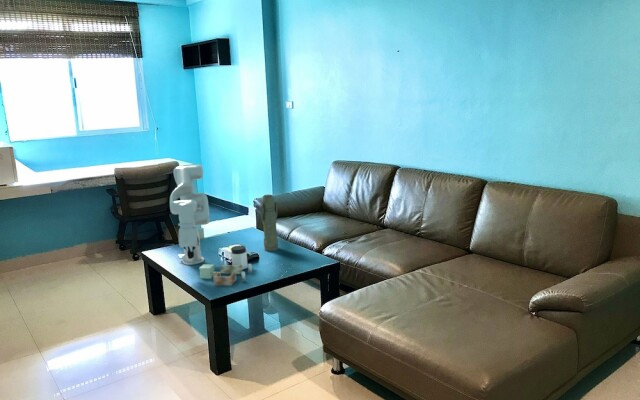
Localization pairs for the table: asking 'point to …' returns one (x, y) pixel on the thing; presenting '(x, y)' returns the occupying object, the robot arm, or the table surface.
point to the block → (207, 271)
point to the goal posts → (248, 271)
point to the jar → (239, 256)
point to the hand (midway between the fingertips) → (191, 257)
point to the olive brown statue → (269, 222)
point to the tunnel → (227, 270)
